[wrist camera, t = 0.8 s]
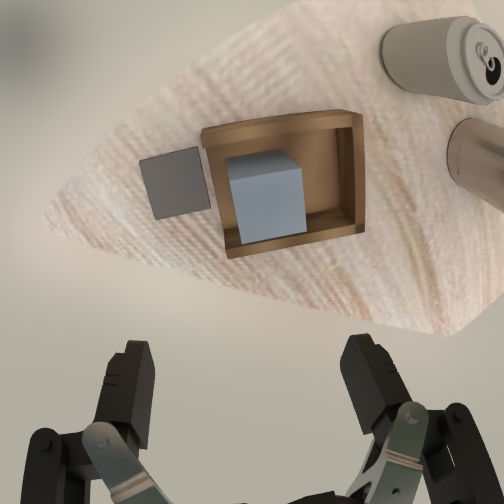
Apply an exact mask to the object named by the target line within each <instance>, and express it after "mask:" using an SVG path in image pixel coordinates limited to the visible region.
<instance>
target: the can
mask: <svg viewBox="0 0 504 504" xmlns="http://www.w3.org/2000/svg"><path fill="white" fill-rule="evenodd" d="M382 55H383V60H384V64H385V66H386V69H387V71H388V73H389V75H390V76H391V77H392V79H393V80H394V81H395V82H396V83H397V84H398V85H399V86H401V87H402V88H403V89H405V90H408V91H411V92H414V93H421V94H428V95H434V96H439V97H445V98H450V99H455V100H460V101H464V102H469V103H473V104H477V105H488V104H490V103H491V102H493V101H494V100H496V101H498V100H500V99H502V98H504V42H503V40H502V39H501V37H500V36H499V35H498V34H497V32H496V31H495V30H494V29H492V28H491V27H490V26H488V25H486V24H483V23H480V22H479V21H477V20H476V19H474V18H471V17H467V16H460V17H450V18H441V19H434V20H427V21H421V22H415V23H409V24H404V25H400V26H396V27H393V28H392V29H391V30H390V31H389V32H388V33H387V34H386V36H385V39H384V41H383V48H382Z"/></svg>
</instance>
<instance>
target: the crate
mask: <svg viewBox="0 0 504 504" xmlns="http://www.w3.org/2000/svg"><path fill="white" fill-rule="evenodd" d="M200 137H201V142H202V147H203V149H204V148H206V151H207V156H208V161H209V165H210V170H211V175H212V179H213V184H214V189H215V193H216V198H217V202H218V207H219V211H220V216H221V220H222V225H223V229H224V239H225V250H226V254H227V258H228V259H232V258H237V257H242V256H247V255H252V254H257V253H262V252H267V251H272V250H277V249H282V248H287V247H292V246H297V245H302V244H307V243H312V242H317V241H322V240H327V239H332V238H337V237H342V236H347V235H352V234H357V233H362V232H365V154H364V133H363V117H362V114H358V113H354V112H350V111H346V110H327V111H315V112H305V113H296V114H288V115H280V116H272V117H265V118H259V119H252V120H246V121H240V122H235V123H229V124H224V125H219V126H214V127H209V128H204V129H202V132H201V135H200ZM274 149H281V150H282V151H283V152H284V153H285V154H286V155H288V156H289V157H290V158H291V159H292V160H293V161H294V162H295V163H296V164H297V165H298V166H299V167H300V168H301V171H302V181H303V192H304V203H305V215H306V227H307V231H306V232H301V233H296V234H291V235H286V236H280V237H275V238H270V239H265V240H260V241H255V242H250V243H245V244H242V242H241V237H240V232H239V227H238V222H237V217H236V212H235V207H234V202H233V197H232V191H231V186H230V181H229V176H228V170H227V165H226V160H225V158H229V157H234V156H239V155H245V154H250V153H256V152H262V151H268V150H274Z"/></svg>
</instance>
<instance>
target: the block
mask: <svg viewBox="0 0 504 504" xmlns="http://www.w3.org/2000/svg"><path fill="white" fill-rule="evenodd" d="M225 160H226V165H227V170H228V176H229V181H230V186H231V191H232V197H233V202H234V207H235V212H236V217H237V222H238V227H239V232H240V237H241V242H242V244H245V243H250V242H255V241H260V240H265V239H270V238H275V237H280V236H286V235H291V234H296V233H301V232H306V231H307V227H306V215H305V203H304V192H303V181H302V171H301V168H300V167H299V166H298V165H297V164H296V163H295V162H294V161H293V160H292V159H291V158H290V157H289V156H288V155H286V154H285V153H284V152H283V151H282V150H281V149H274V150H268V151H262V152H256V153H250V154H245V155H239V156H234V157H229V158H225Z"/></svg>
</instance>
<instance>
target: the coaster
mask: <svg viewBox="0 0 504 504" xmlns="http://www.w3.org/2000/svg"><path fill="white" fill-rule="evenodd" d="M139 166H140V169H141V173H142V176H143V180H144V183H145V187H146V190H147V194H148V197H149V200H150V204H151V207H152V210H153V213H154V216H155V220H160V219H164V218H169V217H173V216H178V215H182V214H187V213H191V212H196V211H201V210H205V209H210V208H211V205H210V201H209V196H208V192H207V188H206V183H205V179H204V174H203V170H202V165H201V161H200V156H199V151H198V147H192V148H188V149H184V150H179V151H175V152H171V153H167V154H163V155H159V156H155V157H152V158H148V159H144V160H141V161H139Z"/></svg>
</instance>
